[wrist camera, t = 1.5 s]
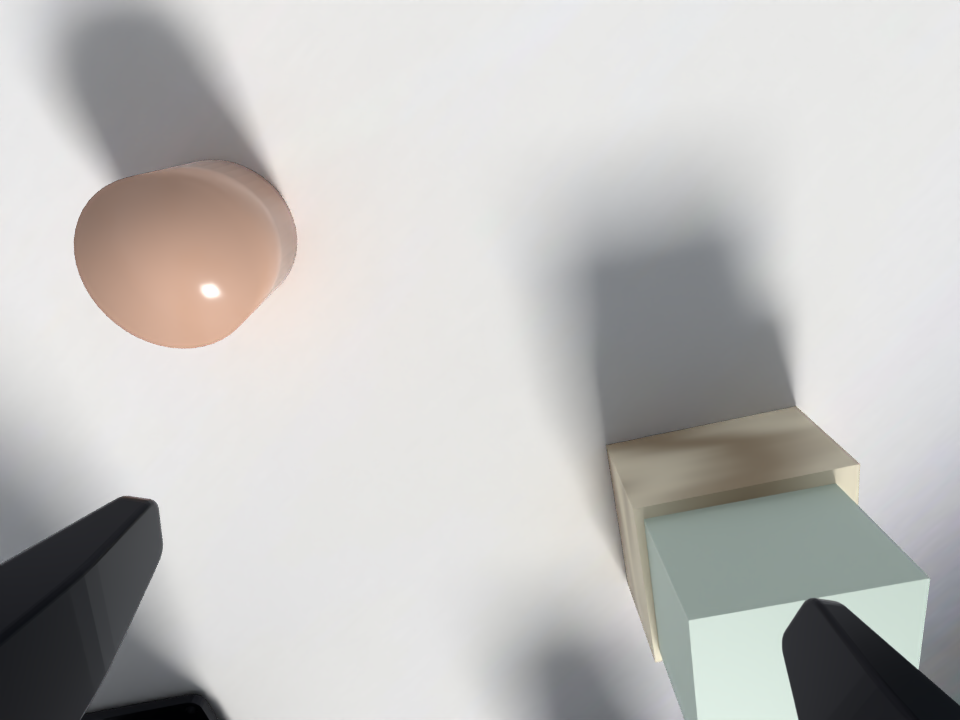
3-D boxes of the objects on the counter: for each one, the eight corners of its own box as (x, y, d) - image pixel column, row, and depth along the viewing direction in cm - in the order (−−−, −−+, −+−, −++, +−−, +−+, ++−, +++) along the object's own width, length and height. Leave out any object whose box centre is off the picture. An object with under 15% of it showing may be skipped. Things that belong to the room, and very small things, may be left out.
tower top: (659, 651, 21) (701, 767, 17) (643, 518, 19) (688, 620, 15) (830, 622, 21) (910, 734, 17) (835, 482, 18) (930, 578, 15)
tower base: (626, 579, 25) (655, 662, 21) (604, 441, 22) (633, 509, 18) (793, 548, 24) (852, 626, 21) (792, 402, 22) (860, 464, 18)
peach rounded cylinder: (188, 314, 19) (125, 364, 16) (126, 178, 18) (39, 198, 14) (316, 284, 19) (282, 328, 15) (267, 144, 17) (215, 155, 14)
